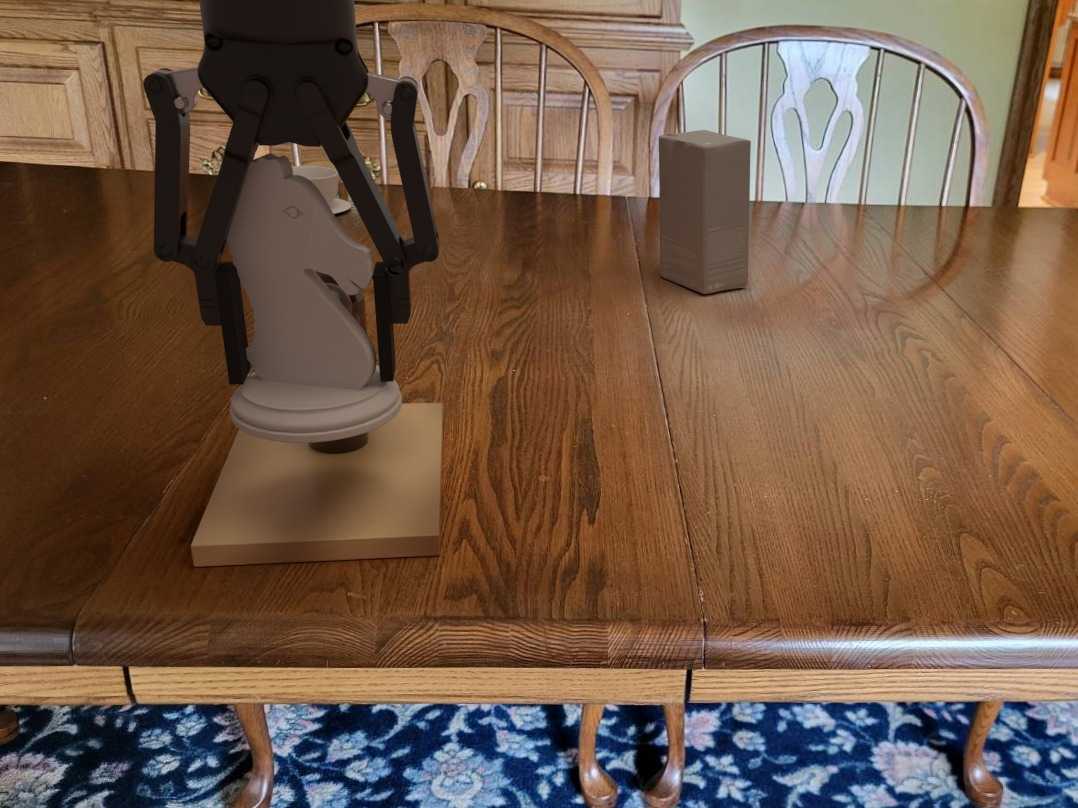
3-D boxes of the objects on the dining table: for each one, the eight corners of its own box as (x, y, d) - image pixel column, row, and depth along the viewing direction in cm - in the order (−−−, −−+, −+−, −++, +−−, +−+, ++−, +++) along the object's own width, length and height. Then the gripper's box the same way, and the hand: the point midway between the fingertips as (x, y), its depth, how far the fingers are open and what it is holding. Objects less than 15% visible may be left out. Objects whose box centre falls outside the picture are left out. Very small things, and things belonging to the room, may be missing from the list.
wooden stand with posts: (193, 567, 64) (160, 360, 58) (250, 424, 82) (228, 255, 76) (440, 556, 67) (431, 357, 61) (443, 420, 84) (436, 256, 79)
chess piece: (363, 451, 62) (337, 182, 55) (197, 434, 63) (153, 167, 56) (425, 385, 70) (410, 147, 64) (279, 371, 71) (249, 134, 65)
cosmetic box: (748, 288, 120) (761, 140, 113) (696, 298, 116) (706, 144, 109) (701, 268, 126) (711, 126, 119) (650, 276, 122) (656, 129, 115)
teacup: (364, 204, 142) (361, 167, 140) (331, 222, 133) (328, 183, 131) (289, 197, 143) (286, 160, 141) (252, 215, 134) (248, 176, 132)
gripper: (479, -37, 61) (489, 349, 71) (74, -59, 57) (144, 354, 67) (481, -30, 54) (492, 395, 64) (24, -54, 50) (110, 403, 60)
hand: (315, 373), depth 66 cm, fingers closed on chess piece, 8 cm apart
